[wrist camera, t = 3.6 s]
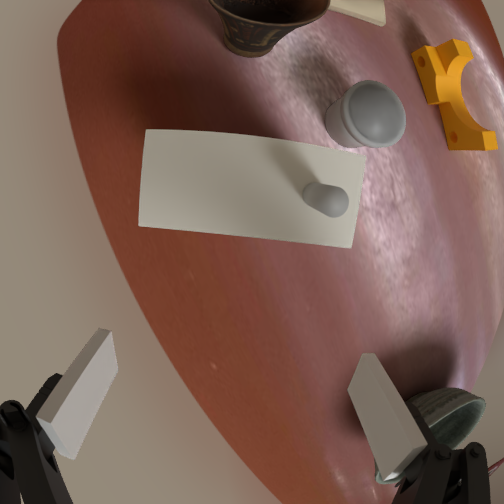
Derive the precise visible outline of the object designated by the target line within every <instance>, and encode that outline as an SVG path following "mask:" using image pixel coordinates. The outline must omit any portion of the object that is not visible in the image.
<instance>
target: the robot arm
mask: <svg viewBox="0 0 504 504" xmlns="http://www.w3.org/2000/svg"><path fill="white" fill-rule="evenodd" d="M117 372H118V365H117V360H116V355H115V349H114V344H113V338H112V332H111V331H109V330H106V329H101V328H99V329H98V330H97V331H96V332H95V334H94V335H93V336H92V338H91V339H90V340H89V342H88V343H87V344H86V345H85V347H84V348H83V349H82V351H81V352H80V353H79V355H78V356H77V357H76V359H75V360H74V361H73V363H72V364H71V365H70V367H69V368H68V370H67V371H66V372H65V374H64V375H60V374H58V373H56V374H54V375H53V376H51V377H49V378H48V380H47V381H46V382H45V383H44V385H43V387H41V389H40V390H39V393H37V394H36V396H35V397H34V399H33V400H32V401H31V403H30V404H29V406H28V407H27V409H26V410H24V407H23V406H22V405H21V404H20V403H19V402H18V401H15V400H9V401H5V402H4V403H3V404H1V406H0V504H21V498H20V492H21V495H22V499H23V502H24V504H73V502H72V500H71V498H70V495H69V493H68V491H67V488H66V486H65V483H64V481H63V478H62V476H61V473H60V471H59V468H58V465H57V462H56V459H55V456H54V454H53V451H54V449H55V448H56V449H57V451H58V452H59V454H60V455H63V456H65V457H67V458H70V459H72V460H75V458H76V455H77V453H78V451H79V449H80V447H81V444H82V442H83V440H84V438H85V436H86V434H87V432H88V429H89V427H90V425H91V423H92V421H93V419H94V417H95V415H96V413H97V411H98V409H99V407H100V405H101V403H102V401H103V399H104V397H105V395H106V393H107V391H108V389H109V387H110V385H111V383H112V382H113V380H114V378H115V376H116V374H117ZM347 391H348V393H349V395H350V398H351V400H352V403H353V405H354V407H355V410H356V412H357V415H358V417H359V420H360V422H361V425H362V427H363V430H364V432H365V435H366V437H367V440H368V442H369V445H370V448H371V450H372V453H373V455H374V458H375V460H376V463H377V466H378V468H379V471H380V474H381V476H382V479H383V481H385V480H389V479H392V478H396V477H398V476H399V475H400V474H401V473H402V472H403V471H404V473H405V476H404V477H403V478H402V479H401V480H400V481H399V482H398V483H397V484H396V485H395V487H397V486H399V485H400V486H399V488H398V491H397V493H396V495H395V497H394V500H393V502H392V504H491V502H490V485H489V474H488V466H487V459H486V452H485V449H484V447H483V446H482V445H481V444H479V443H477V442H471V443H469V444H468V445H467V446H466V447H465V448H464V449H459V450H452V449H451V448H450V447H449V446H447V445H445V444H439V443H438V442H437V440H436V439H435V437H434V435H433V433H432V432H431V430H430V428H429V427H428V425H427V423H426V422H425V420H424V418H423V416H421V413H420V412H419V410H418V408H417V407H416V406H415V405H413V404H412V403H411V402H404V401H403V399H402V398H401V396H400V394H399V393H398V391H397V389H396V388H395V386H394V384H393V383H392V381H391V379H390V378H389V376H388V374H387V373H386V371H385V370H384V368H383V366H382V365H381V363H380V361H379V360H378V358H377V357H376V355H375V353H362V355H361V358H360V360H359V363H358V365H357V368H356V370H355V373H354V375H353V377H352V380H351V382H350V384H349V387H348V389H347Z"/></svg>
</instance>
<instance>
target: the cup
mask: <svg viewBox="0 0 504 504" xmlns="http://www.w3.org/2000/svg"><path fill="white" fill-rule="evenodd" d="M209 2H210V3H211V5H212V6H213V7H214V8H215V9H216V10H217V12H218V13H219V15H220V17H221V20H222V23H223V26H224V42H225V44H226V46H227V47H228V48H229V49H230V51H232V52H233V53H235V54H237V55H240V56H243V57H249V58H252V57H261V56H264V55H265V54H267V53H269V52H270V51H271V50H272V48H273V47H274V45H275V44H276V43H277V42H278V41H279V40H280V39H282V38H283V37H284V36H285V35H287V34H288V33H290V32H291V31H293V30H294V29H296V28H298V27H301V26H304V25H307V24H309V23H311V22H313V21H315V20H317V19H319V18H320V17H322V16H323V15H324V14H325V13H326V11H327V10H328V8H329V6H330V2H331V0H209Z"/></svg>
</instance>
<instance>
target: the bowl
mask: <svg viewBox="0 0 504 504" xmlns="http://www.w3.org/2000/svg"><path fill="white" fill-rule="evenodd" d="M406 402H411V403H412V404H413V405H415V406H416V407H417V408H418V410H419V412H420V413H421V416H423V418H424V420H425V422H426V423H427V425H428V427H429V428H430V430H431V432H432V433H433V435H434V437H435V439H436V440H437V442H438V443H439V444H445V445H447V446H449V447H450V448H451V449H452V450H454V449H455V448H457V447H458V446H459V445H460V444H461V443H462V442H463V441H464V440H465V439H466V437H467V436H468V435H469V434H470V433H471V432H472V431H473V429H474V428H475V426H476V425H477V423H478V422H479V420H480V419H481V417H482V415H483V413H484V410H485V407H486V403H485V400H484V399H483V398H481V397H477V396H475V395H473V394H471V393H469V392H467V391H465V390H463V389H459V388H441V389H438V390H434V391H431V392H423V393H420V394H417V395H415V396H413V397H412V398H410V399H409V400H407V401H406ZM374 461H375V481H377V482H378V483H380V484H392V483H396V482H399V481H400V480H401V479H402V478H403V477H404V476H405V473H404V471H403V472H402V473H401V474H400V475H399V476H398V477H396V478H392V479H389V480H385V481H383V479H382V476H381V474H380V471H379V468H378V466H377V463H376V460H375V458H374Z"/></svg>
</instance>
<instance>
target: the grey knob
mask: <svg viewBox="0 0 504 504" xmlns="http://www.w3.org/2000/svg"><path fill="white" fill-rule="evenodd" d="M325 125H326V129H327V131H328V133H329V135H330V136H331V138H332V139H333V140H334V141H335V142H336V143H338V144H339V145H341V146H343V147H347V148H357V147H363V146H367V147H371V148H382V147H388V146H391V145H393V144H395V143H396V142H397V141H398V140H399V139H400V138H401V137H402V135H403V133H404V130H405V126H406V116H405V111H404V108H403V105H402V103H401V101H400V99H399V98H398V96H397V95H396V94H395V93H394V92H393V91H392V90H391V89H390V88H389V87H387V86H386V85H384V84H382V83H380V82H377V81H372V80H365V81H361V82H358V83H356V84H355V85H353V86H352V87H350V88H349V89H348V90H347V91H346V92H345V94H344V95H343V97H342V98H340V99H339V100H337V101H336V102H334V103H333V104H332V105H331V106H330V107H329V108H328V110H327V112H326V115H325Z"/></svg>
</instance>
